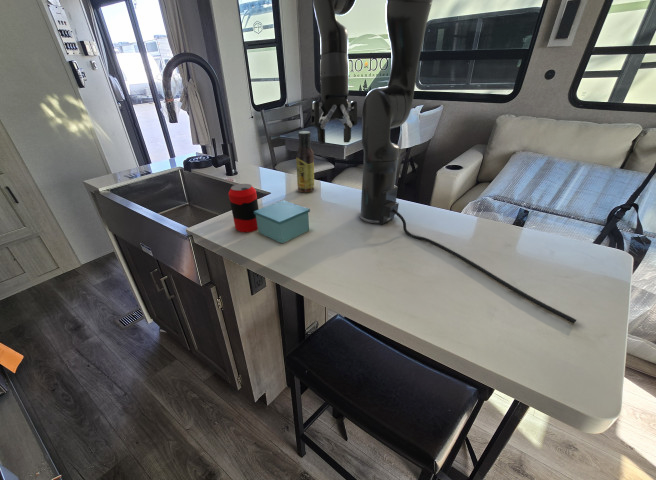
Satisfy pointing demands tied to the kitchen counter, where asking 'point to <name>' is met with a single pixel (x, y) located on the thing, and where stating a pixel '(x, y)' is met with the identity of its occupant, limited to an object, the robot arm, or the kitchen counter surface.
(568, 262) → the kitchen counter surface
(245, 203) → the soda can
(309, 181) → the sauce bottle
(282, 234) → the storage box
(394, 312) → the kitchen counter surface
